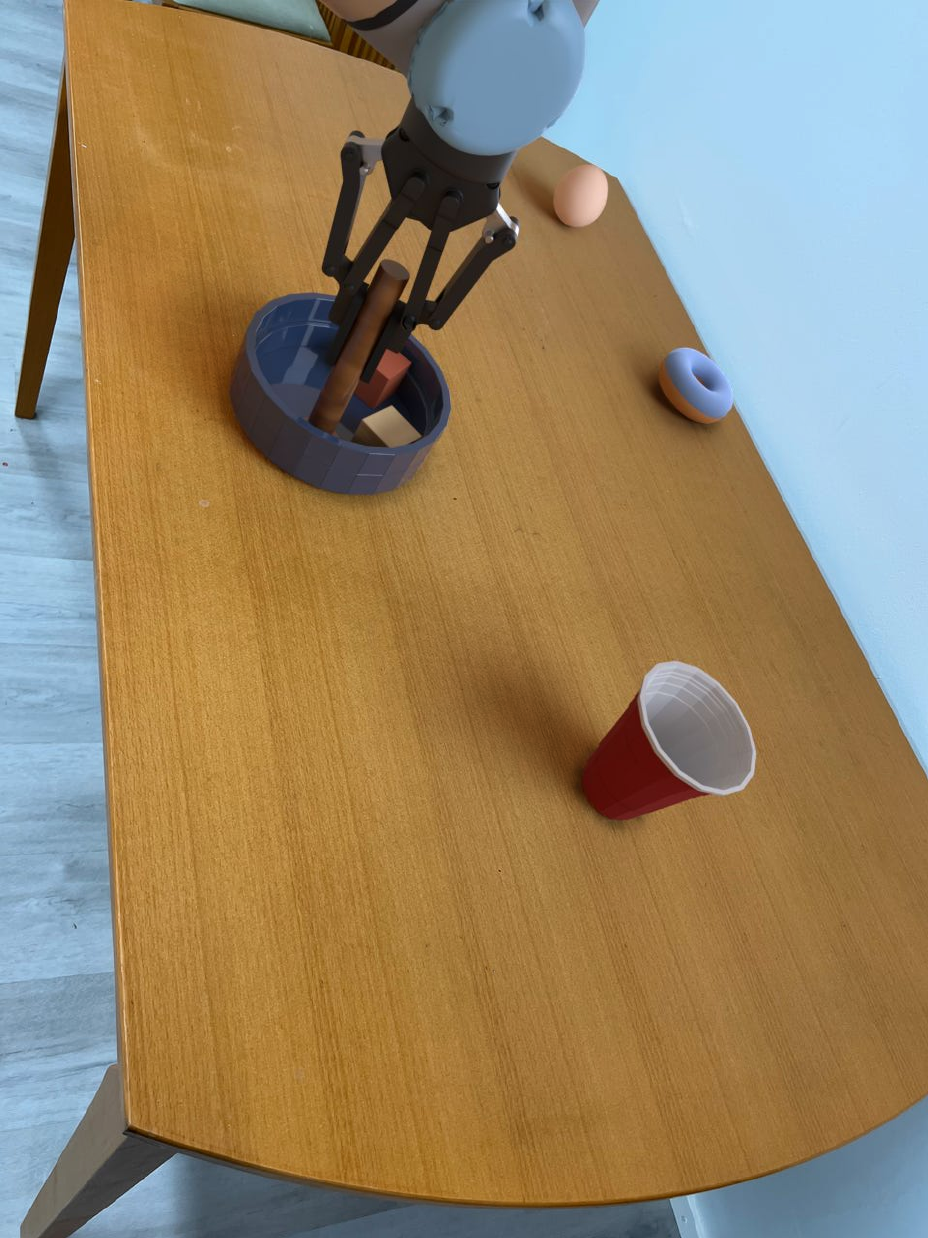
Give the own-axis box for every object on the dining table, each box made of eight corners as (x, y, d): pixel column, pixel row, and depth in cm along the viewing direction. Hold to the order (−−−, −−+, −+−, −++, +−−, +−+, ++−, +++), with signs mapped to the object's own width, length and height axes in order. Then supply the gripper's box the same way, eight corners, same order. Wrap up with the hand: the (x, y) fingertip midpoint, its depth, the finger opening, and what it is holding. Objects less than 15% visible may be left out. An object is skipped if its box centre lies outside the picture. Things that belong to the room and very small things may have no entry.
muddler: (277, 429, 82) (356, 249, 70) (318, 424, 85) (401, 250, 73) (304, 467, 81) (389, 289, 69) (345, 460, 84) (433, 288, 72)
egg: (535, 200, 126) (566, 146, 121) (574, 206, 130) (605, 155, 124) (556, 236, 124) (589, 183, 118) (595, 241, 128) (628, 190, 122)
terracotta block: (340, 382, 90) (354, 351, 87) (363, 365, 93) (378, 334, 90) (373, 409, 90) (389, 379, 87) (395, 392, 93) (411, 362, 90)
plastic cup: (685, 848, 80) (784, 790, 71) (577, 856, 74) (668, 795, 66) (645, 727, 85) (732, 660, 76) (541, 728, 80) (621, 655, 71)
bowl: (198, 438, 80) (215, 387, 76) (263, 312, 92) (281, 261, 87) (402, 531, 85) (430, 488, 80) (439, 399, 96) (465, 355, 92)
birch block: (345, 449, 86) (361, 418, 83) (375, 434, 89) (391, 404, 86) (376, 481, 86) (393, 451, 83) (405, 465, 88) (422, 436, 85)
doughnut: (727, 405, 120) (751, 379, 117) (706, 444, 113) (730, 417, 110) (663, 355, 120) (686, 328, 116) (638, 391, 113) (661, 363, 110)
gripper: (590, 129, 65) (444, 377, 82) (379, 4, 61) (272, 292, 78) (581, 183, 60) (428, 434, 78) (352, 51, 56) (245, 346, 74)
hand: (350, 362), depth 78 cm, fingers closed on muddler, 2 cm apart
